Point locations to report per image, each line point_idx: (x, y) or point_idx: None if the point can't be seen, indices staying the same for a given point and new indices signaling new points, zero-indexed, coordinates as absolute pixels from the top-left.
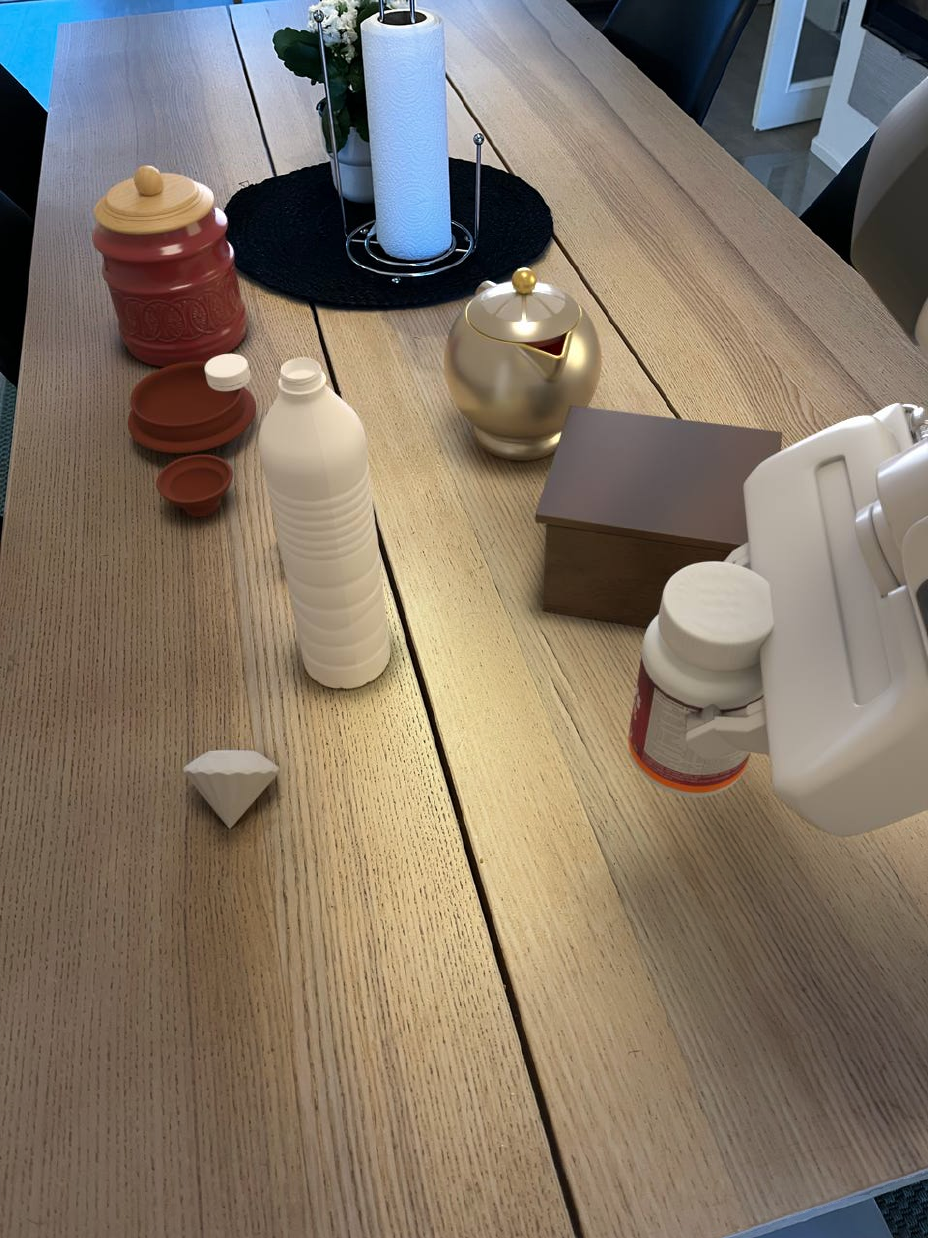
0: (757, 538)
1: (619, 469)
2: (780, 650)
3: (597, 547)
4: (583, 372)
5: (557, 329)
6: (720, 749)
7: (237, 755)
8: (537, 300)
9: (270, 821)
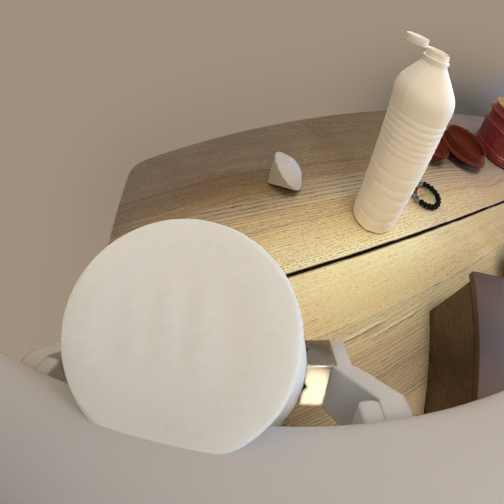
0: (399, 435)
1: None
2: (36, 402)
3: (465, 321)
4: None
5: None
6: None
7: (288, 164)
8: None
9: (272, 195)
